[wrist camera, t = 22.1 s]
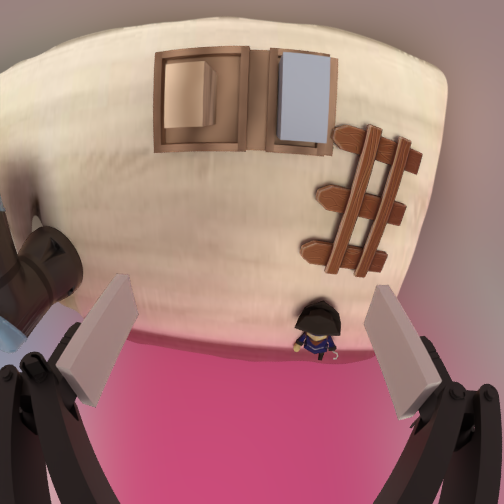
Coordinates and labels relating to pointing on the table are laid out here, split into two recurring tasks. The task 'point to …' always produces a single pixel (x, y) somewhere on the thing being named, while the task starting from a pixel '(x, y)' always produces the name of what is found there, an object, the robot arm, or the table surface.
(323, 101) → the grey rectangular block
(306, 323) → the toy
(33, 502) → the robot arm
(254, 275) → the table surface
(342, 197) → the decorative fence
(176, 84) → the wooden block
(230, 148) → the tray
